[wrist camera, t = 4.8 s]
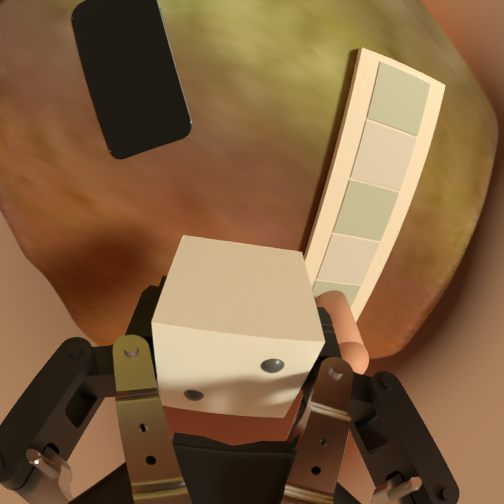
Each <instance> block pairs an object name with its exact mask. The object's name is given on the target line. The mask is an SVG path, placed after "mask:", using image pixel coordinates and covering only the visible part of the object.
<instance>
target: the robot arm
mask: <svg viewBox="0 0 504 504" xmlns="http://www.w3.org/2000/svg"><path fill="white" fill-rule="evenodd" d="M166 279H167V276H163V277H162V280H161V282H160V285H159V287H158V286H151V285H150V286H149V287H148V288H147V289H146V290H144V291H143V292H142V295H141V297H140V299H139V302H138V304H137V307H136V309H135V311H134V314H133V316H132V319H131V321H130V324H129V326H128V329H127V331H126V334H125V336H123V337H120V338H119V339H118V340H117V341H116V342H115V343H114V344H113V345H110V346H100V347H92V346H91V344H90V343H89V342H88V341H87V340H86V339H84V338H80V337H73V338H70V339H67V340H66V341H64V342H63V343H62V344H61V346H60V347H59V348H58V349H57V350H56V352H55V353H54V354H53V355H52V357H51V358H50V359H49V360H48V362H47V363H46V364H45V366H44V367H43V368H42V369H41V370H40V372H39V373H38V374H37V376H36V377H35V378H34V379H33V381H32V382H31V383H30V385H29V386H28V387H27V389H26V390H25V391H24V393H23V394H22V395H21V397H20V398H19V399H18V401H17V402H16V404H15V405H14V407H13V408H12V409H11V411H10V412H9V413H8V415H7V416H6V418H5V419H4V421H3V422H2V424H1V425H0V484H2V485H3V486H4V487H6V488H7V489H9V490H11V491H13V492H15V493H17V494H19V495H20V496H21V497H22V498H24V499H25V500H26V501H27V502H29V503H30V504H361V503H360V502H359V501H358V500H357V499H355V498H354V497H353V496H352V495H351V494H350V493H349V492H348V491H347V490H346V489H345V488H344V487H342V486H341V485H340V484H339V483H338V482H337V480H338V476H339V472H340V468H341V464H342V460H343V456H344V451H345V447H346V442H347V437H348V433H349V429H350V431H351V433H352V435H353V438H354V440H355V442H356V444H357V447H358V449H359V451H360V453H361V455H362V458H363V460H364V462H365V464H366V467H367V469H368V471H369V473H370V475H371V478H372V480H373V482H374V484H375V487H376V489H375V490H374V493H373V496H372V501H371V504H456V503H457V502H458V499H459V488H458V486H457V484H456V482H455V480H454V478H453V476H452V474H451V472H450V470H449V468H448V466H447V464H446V462H445V460H444V458H443V456H442V455H441V453H440V451H439V449H438V447H437V445H436V444H435V442H434V440H433V438H432V436H431V434H430V433H429V431H428V429H427V427H426V425H425V424H424V422H423V420H422V418H421V417H420V415H419V413H418V412H417V410H416V408H415V406H414V404H413V403H412V401H411V400H410V398H409V396H408V394H407V393H406V391H405V389H404V388H403V386H402V385H401V383H400V381H399V380H398V378H397V377H396V376H395V375H393V374H392V373H390V372H386V371H380V372H377V373H376V374H375V375H374V376H373V377H369V376H366V375H362V374H359V373H356V372H354V371H353V369H352V367H351V366H350V364H349V363H348V362H346V361H345V360H343V359H342V356H341V352H340V348H339V345H338V341H337V338H336V334H335V330H334V327H333V323H332V320H331V317H330V315H329V313H328V312H327V311H326V310H325V308H324V307H317V303H316V299H315V296H314V299H315V303H316V307H317V310H318V314H319V318H320V322H321V326H322V331H323V335H324V339H325V343H324V345H323V347H322V349H321V351H320V353H319V355H318V357H317V359H316V361H315V363H314V365H313V367H312V369H311V370H310V372H309V374H308V376H307V378H306V380H305V381H304V383H303V385H302V387H301V389H300V390H303V397H302V398H301V401H300V404H299V406H298V410H297V412H296V415H295V418H294V421H293V424H292V427H291V430H290V433H289V435H288V437H287V439H286V441H260V442H255V443H249V444H243V445H237V446H231V445H228V444H225V443H221V442H218V441H215V440H212V439H209V438H206V437H203V436H196V435H189V434H182V433H174V439H171V438H170V434H169V430H168V427H167V423H166V419H165V416H164V412H163V408H162V403H161V399H160V395H159V391H158V389H157V384H156V379H157V370H156V362H155V353H154V344H153V334H152V323H151V322H152V319H153V316H154V313H155V310H156V307H157V304H158V301H159V298H160V295H161V293H162V290H163V287H164V284H165V281H166ZM105 397H115V401H116V409H117V416H118V422H119V428H120V434H121V440H122V445H123V451H124V455H125V460H126V462H125V463H123V464H122V465H121V466H119V467H118V468H117V469H116V470H114V471H113V472H111V473H110V474H109V475H107V476H106V477H105V478H103V479H102V480H100V481H99V482H98V483H96V484H95V485H93V486H92V487H90V488H89V489H87V490H86V491H85V492H83V493H82V494H80V495H79V496H77V497H76V498H75V499H73V497H72V495H71V493H70V483H71V480H72V471H71V468H70V466H69V465H68V463H67V460H68V458H69V457H70V455H71V453H72V451H73V450H74V448H75V446H76V444H77V442H78V441H79V439H80V438H81V436H82V434H83V433H84V431H85V429H86V428H87V426H88V424H89V422H90V421H91V419H92V418H93V416H94V414H95V413H96V411H97V409H98V408H99V406H100V404H101V403H102V401H103V400H104V398H105Z"/></svg>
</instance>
